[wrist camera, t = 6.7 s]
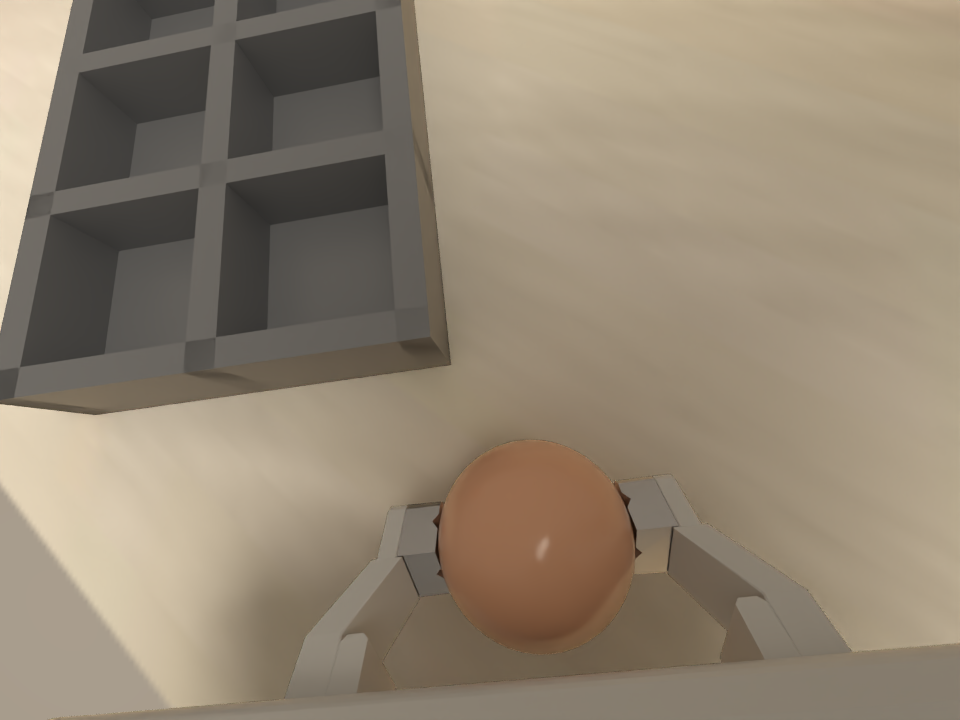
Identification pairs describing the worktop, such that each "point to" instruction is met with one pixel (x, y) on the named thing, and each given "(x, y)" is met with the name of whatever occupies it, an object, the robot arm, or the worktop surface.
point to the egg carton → (226, 207)
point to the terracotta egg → (536, 547)
